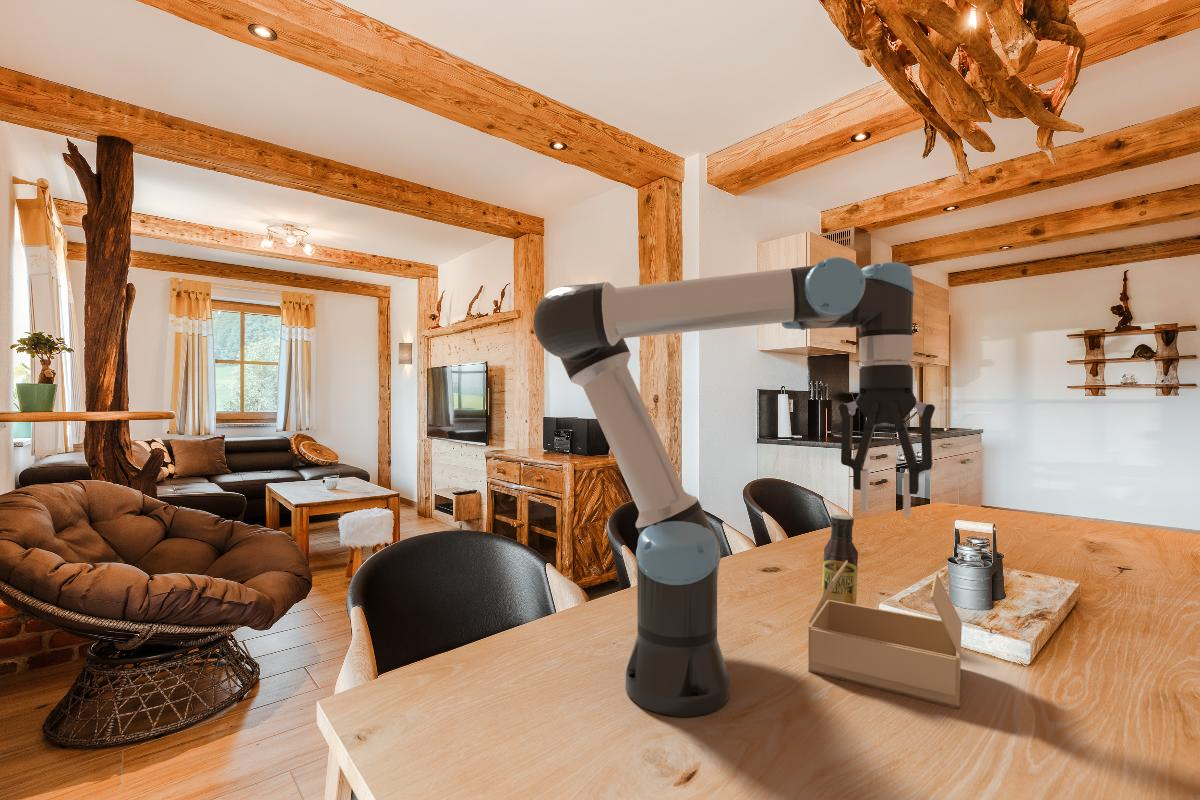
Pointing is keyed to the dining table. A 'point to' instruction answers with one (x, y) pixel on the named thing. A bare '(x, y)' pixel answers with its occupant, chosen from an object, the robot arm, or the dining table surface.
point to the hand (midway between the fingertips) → (885, 512)
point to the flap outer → (947, 612)
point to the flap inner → (828, 591)
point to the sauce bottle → (841, 561)
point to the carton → (886, 651)
